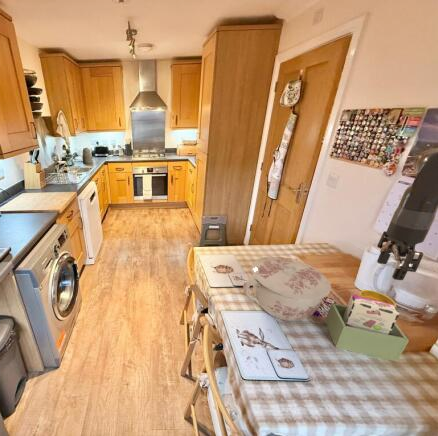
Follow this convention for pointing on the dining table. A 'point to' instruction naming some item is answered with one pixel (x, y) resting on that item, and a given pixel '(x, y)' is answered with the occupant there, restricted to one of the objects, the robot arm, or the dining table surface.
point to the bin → (364, 337)
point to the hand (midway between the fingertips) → (388, 270)
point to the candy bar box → (370, 315)
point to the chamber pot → (287, 287)
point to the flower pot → (376, 296)
